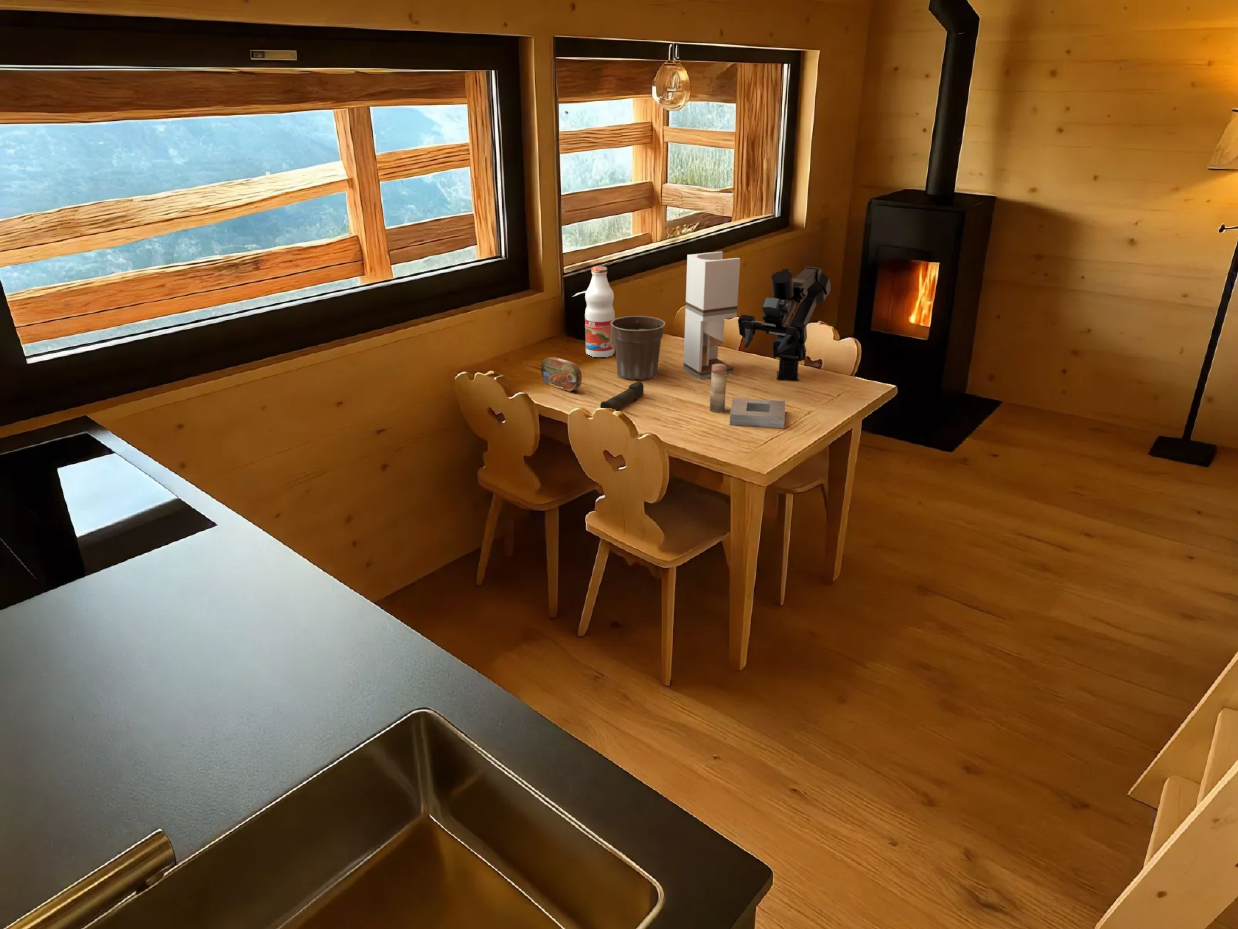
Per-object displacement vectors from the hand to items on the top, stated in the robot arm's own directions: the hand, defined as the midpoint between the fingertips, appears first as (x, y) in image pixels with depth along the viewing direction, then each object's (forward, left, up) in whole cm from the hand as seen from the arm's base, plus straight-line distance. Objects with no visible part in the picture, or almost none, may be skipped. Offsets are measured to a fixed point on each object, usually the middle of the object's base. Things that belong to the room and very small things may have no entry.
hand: (761, 349), depth 226 cm
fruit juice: (-37, -52, -16) cm, 66 cm away
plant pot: (-20, -37, -16) cm, 45 cm away
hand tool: (+5, -37, -17) cm, 41 cm away
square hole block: (+9, 0, -16) cm, 19 cm away
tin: (-5, -57, -17) cm, 59 cm away
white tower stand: (-26, -16, -16) cm, 35 cm away
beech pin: (+5, -11, -16) cm, 20 cm away
